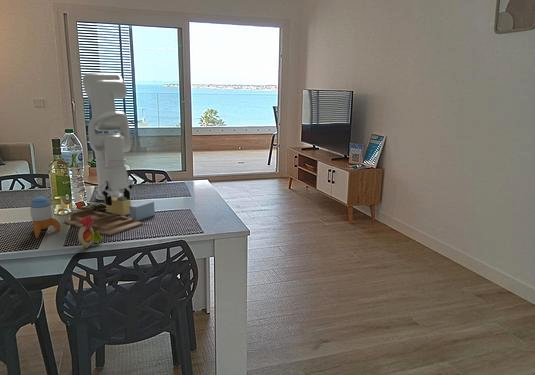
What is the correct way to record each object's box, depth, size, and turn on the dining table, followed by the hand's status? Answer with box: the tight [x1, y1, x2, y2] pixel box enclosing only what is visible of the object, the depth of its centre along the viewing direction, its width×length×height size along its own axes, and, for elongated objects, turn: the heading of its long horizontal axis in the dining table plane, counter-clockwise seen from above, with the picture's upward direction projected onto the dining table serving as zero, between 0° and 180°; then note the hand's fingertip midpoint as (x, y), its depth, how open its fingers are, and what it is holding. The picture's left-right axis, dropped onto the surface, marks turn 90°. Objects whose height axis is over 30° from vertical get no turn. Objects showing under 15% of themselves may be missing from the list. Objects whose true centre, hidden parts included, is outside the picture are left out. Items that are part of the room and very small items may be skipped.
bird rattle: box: [77, 216, 104, 249], centre depth 147 cm, size 6×11×9 cm
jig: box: [63, 207, 144, 237], centre depth 171 cm, size 28×16×3 cm, turn 58°
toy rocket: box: [29, 196, 62, 239], centre depth 159 cm, size 10×11×15 cm
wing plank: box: [129, 200, 156, 222], centre depth 180 cm, size 4×10×6 cm, turn 148°
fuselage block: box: [104, 196, 132, 216], centre depth 186 cm, size 12×4×7 cm, turn 58°
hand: (118, 202), depth 185 cm, fingers open, 9 cm apart
